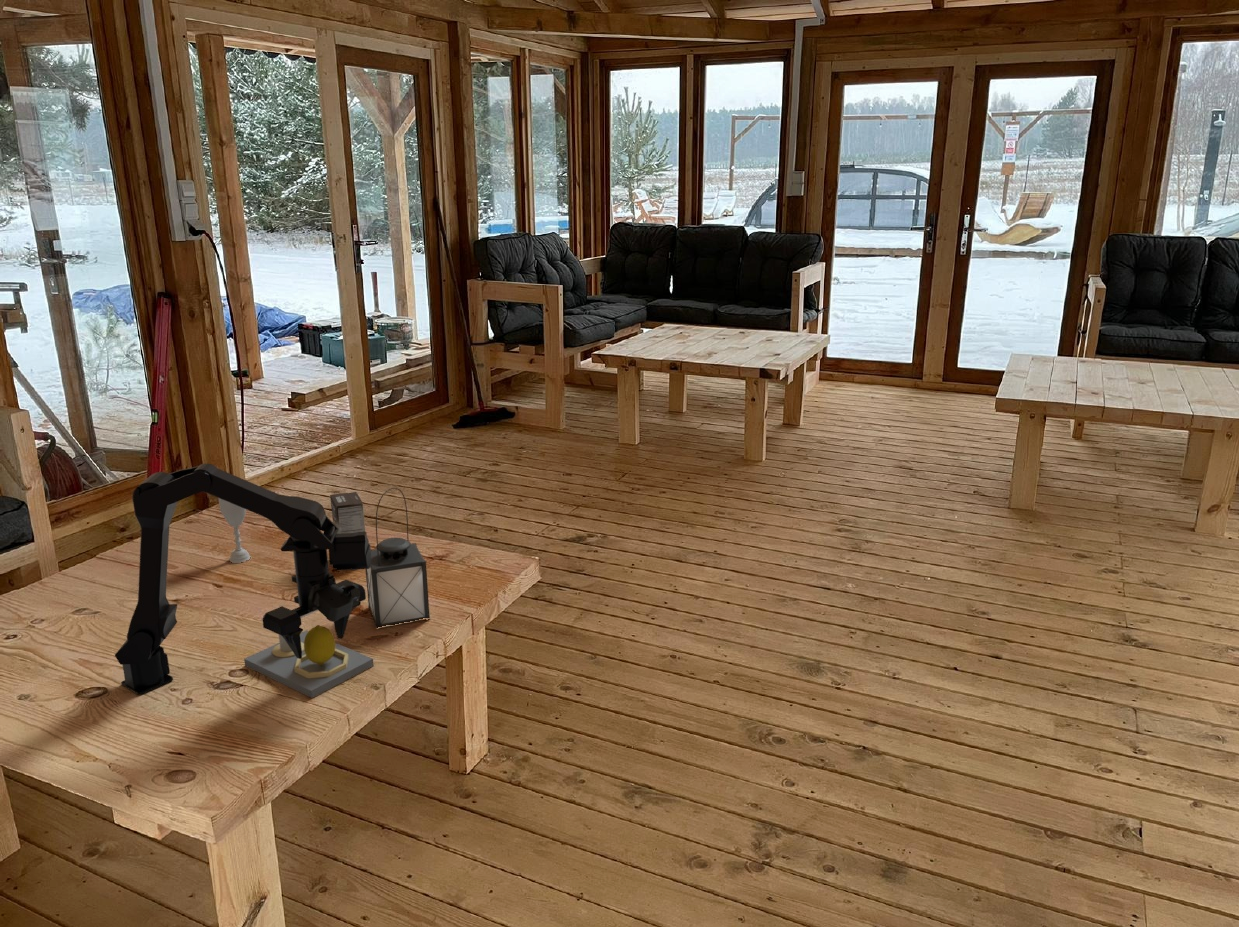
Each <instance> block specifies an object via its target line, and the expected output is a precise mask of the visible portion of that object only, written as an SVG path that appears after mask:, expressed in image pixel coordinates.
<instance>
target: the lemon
mask: <svg viewBox="0 0 1239 927" xmlns="http://www.w3.org/2000/svg"><path fill="white" fill-rule="evenodd" d="M307 631H308V633H307V634H306V636H305V640H304V651H305V654H306V656H307V658H308V659H309V660H310V661H312V662H313V663H318V664H319V665H323V664H324V663H325V662H327V661H328V660H330V659H331V657H332V656H333V654H334V652H335V643H336V640H335V637H334V634H333V632H332V631H331V630H330V628H327V626H324V625H319V624H317V625H316V626H314V627H312V628H311V629H309V630H307Z"/></svg>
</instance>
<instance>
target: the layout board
mask: <svg viewBox="0 0 1239 927" xmlns="http://www.w3.org/2000/svg"><path fill="white" fill-rule="evenodd" d="M308 631H309V630H303V631H302V632H301V634H300V640H301V648H302V658H301V659H299V658H297V657H296V656H295V654H294V653H293V651H292V650H291V648H290V647H289V645H288V644H287V642H286V641H285V639H284V638H283V637H282V636H281V635H279V634H278V640H279V642H278V643H276V644H274V645H271V646H269V647H266V648H265V649H263V650H260V651H258V652H256V653H254V654H251V655H248V656H247V657H245V658H243V660H244V666H245V667H247V668H249V669H251V670H253V671H255V672H257V673H259V674H261V675H264V676H265V677H266V678H270V679H272V680H274V681H276V682H277V683H280V684H281V685H284V686H286V687H288V688H290V689H293V690H294V691H296V692H297V693H301V695H305V696H307V697H308V698H311V699H313V698H315V697H317V696H319V695H321V694H323V693H325V692H327V691H328V690H330V689H332V688H335V687H336V686H338V685H340V684H342V683H343V682H345V681H348V680H350V679H351V678H353V677H355V676H358V675H359V674H361V673H363V672H364V670H365V671H366V670H368V668H369V669H370V667H371V668H372V667H374V664H375V663H374V658H372V657H370V656H368V655H365V654H363V653H360V652H358V651H356V650H353V649H351V648H349V647H346V646H344V645H342V644H339V643H336V642H335V652H334V654H333V656H332V657H331V659H330V660H328V661H327V662H325V663H324V664H323V665H319V664H318V663H313V662H312V661H310V660H309V659H308V658H307V656H306V654H305V651H304V640H305V636H306V634H307V633H308Z"/></svg>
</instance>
